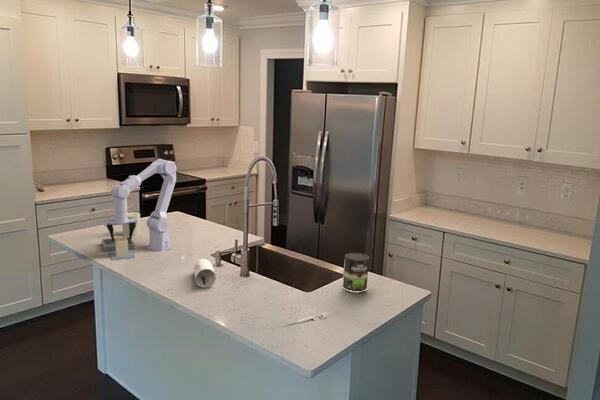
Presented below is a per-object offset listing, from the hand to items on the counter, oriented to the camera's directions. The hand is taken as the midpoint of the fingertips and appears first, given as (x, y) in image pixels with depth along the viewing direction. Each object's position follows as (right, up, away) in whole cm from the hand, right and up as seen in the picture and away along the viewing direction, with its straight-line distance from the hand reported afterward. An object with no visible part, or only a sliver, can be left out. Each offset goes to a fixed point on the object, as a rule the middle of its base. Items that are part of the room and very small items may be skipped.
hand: (121, 239), depth 220 cm
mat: (0, -8, +2) cm, 8 cm away
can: (-8, -1, +35) cm, 35 cm away
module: (-1, -7, +2) cm, 7 cm away
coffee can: (+105, -19, -21) cm, 109 cm away
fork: (+83, -25, -53) cm, 102 cm away
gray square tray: (-7, -5, +14) cm, 16 cm away
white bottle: (+41, -15, -21) cm, 49 cm away
